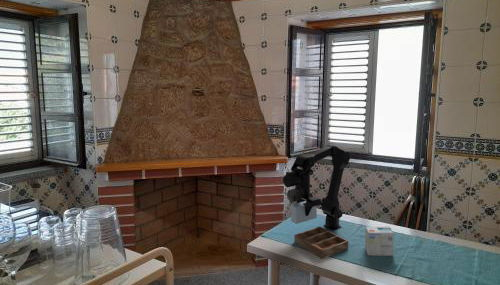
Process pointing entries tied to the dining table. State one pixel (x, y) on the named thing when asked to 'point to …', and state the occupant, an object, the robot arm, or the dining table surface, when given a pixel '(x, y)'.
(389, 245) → the light bulb box
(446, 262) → the dining table surface
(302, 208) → the white rectangular box
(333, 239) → the rack
